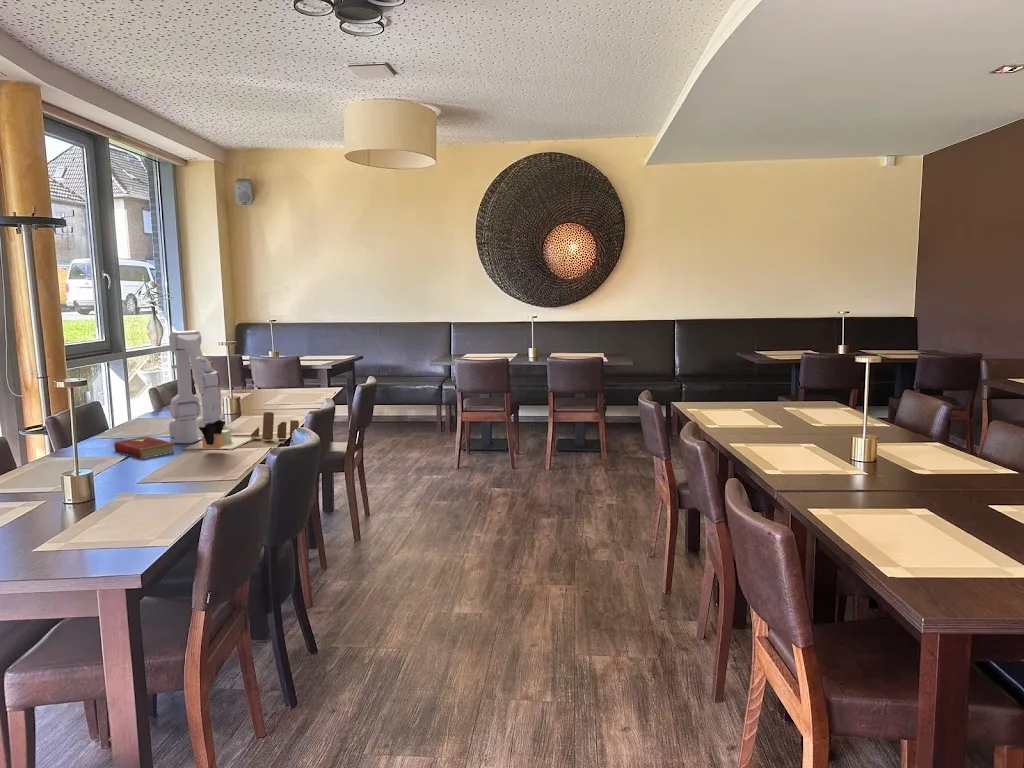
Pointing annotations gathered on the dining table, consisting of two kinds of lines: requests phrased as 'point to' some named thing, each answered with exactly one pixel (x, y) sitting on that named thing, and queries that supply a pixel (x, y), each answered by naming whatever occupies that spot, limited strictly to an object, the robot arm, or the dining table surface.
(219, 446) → the terracotta block
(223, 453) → the dining table surface
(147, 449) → the hardcover book
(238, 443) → the build pad
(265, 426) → the wooden block set
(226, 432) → the sage block
